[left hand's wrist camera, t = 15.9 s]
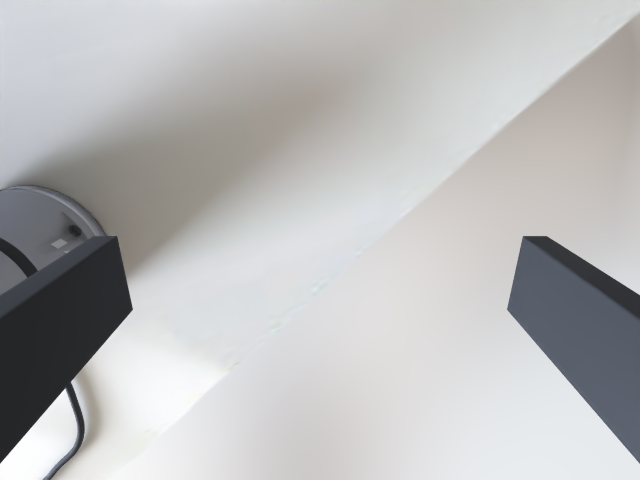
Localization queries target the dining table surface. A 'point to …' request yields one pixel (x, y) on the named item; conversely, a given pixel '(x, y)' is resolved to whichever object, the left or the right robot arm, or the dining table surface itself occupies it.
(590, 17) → the dining table surface
